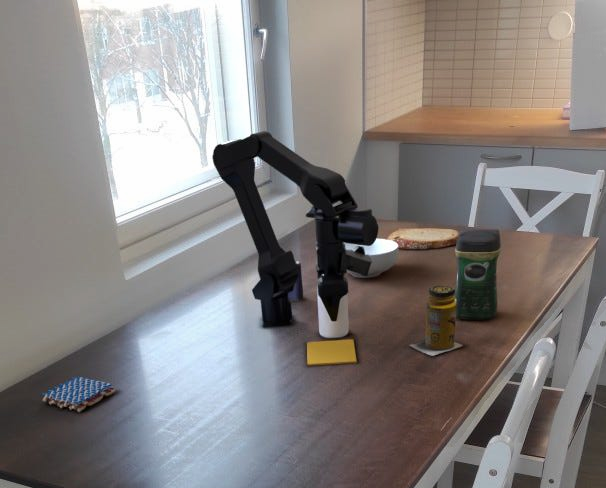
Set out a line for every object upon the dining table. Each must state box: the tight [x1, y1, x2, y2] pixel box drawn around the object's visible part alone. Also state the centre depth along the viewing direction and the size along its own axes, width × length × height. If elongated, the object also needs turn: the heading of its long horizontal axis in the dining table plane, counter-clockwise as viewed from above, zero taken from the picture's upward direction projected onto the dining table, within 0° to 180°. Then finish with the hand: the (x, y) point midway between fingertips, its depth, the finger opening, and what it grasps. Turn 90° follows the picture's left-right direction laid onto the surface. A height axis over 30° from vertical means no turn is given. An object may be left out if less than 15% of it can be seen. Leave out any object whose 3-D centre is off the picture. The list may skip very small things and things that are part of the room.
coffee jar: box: [455, 228, 502, 321], centre depth 177 cm, size 10×8×19 cm
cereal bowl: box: [345, 238, 399, 279], centre depth 210 cm, size 17×17×7 cm
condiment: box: [409, 284, 464, 357], centre depth 165 cm, size 7×8×12 cm
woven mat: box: [41, 376, 116, 413], centre depth 158 cm, size 10×11×2 cm
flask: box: [288, 260, 304, 302], centre depth 197 cm, size 9×3×11 cm, turn 71°
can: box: [316, 285, 349, 340], centre depth 175 cm, size 6×6×12 cm
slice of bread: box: [386, 227, 460, 251], centre depth 231 cm, size 18×18×4 cm
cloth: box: [306, 339, 358, 367], centre depth 169 cm, size 10×12×1 cm
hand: (333, 314), depth 176 cm, fingers closed on can, 8 cm apart
